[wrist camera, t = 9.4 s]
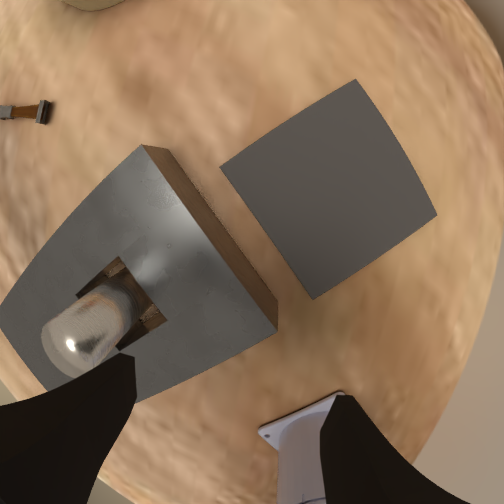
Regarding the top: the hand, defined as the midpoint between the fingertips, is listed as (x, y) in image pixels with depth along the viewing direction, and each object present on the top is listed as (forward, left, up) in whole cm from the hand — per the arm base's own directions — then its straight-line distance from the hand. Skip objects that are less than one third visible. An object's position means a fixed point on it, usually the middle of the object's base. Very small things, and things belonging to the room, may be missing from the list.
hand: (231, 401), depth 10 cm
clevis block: (+5, +9, -10) cm, 15 cm away
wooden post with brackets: (+22, +8, -11) cm, 26 cm away
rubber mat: (+3, -8, -10) cm, 13 cm away
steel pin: (+5, +6, -10) cm, 13 cm away
